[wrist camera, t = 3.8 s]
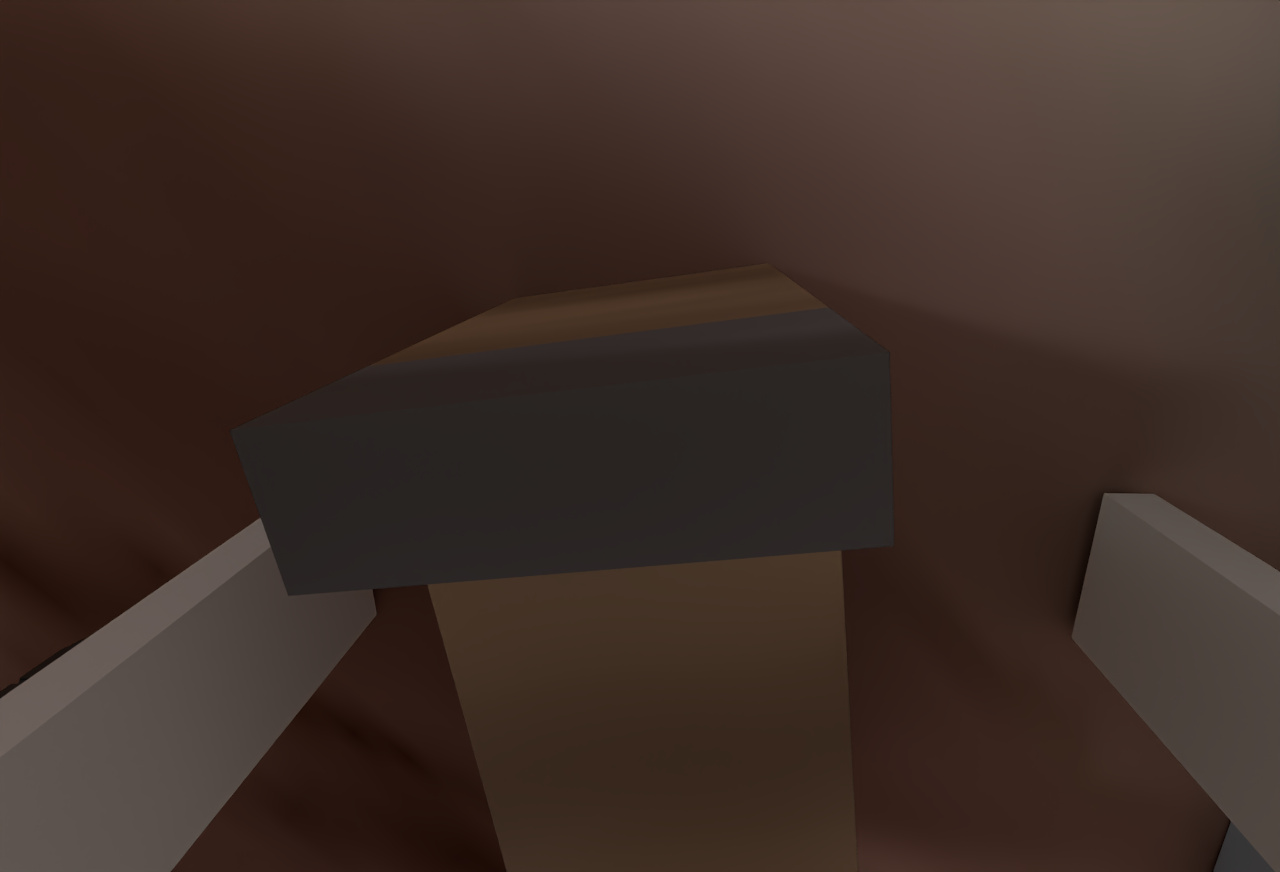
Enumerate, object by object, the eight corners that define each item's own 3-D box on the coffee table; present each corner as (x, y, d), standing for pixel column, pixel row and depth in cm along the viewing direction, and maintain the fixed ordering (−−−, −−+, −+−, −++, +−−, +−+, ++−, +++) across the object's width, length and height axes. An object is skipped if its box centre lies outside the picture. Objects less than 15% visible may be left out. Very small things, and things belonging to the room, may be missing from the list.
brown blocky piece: (808, 773, 13) (996, 1746, 5) (612, 782, 14) (475, 1673, 5) (767, 262, 10) (1097, 504, 2) (515, 297, 11) (-169, 615, 2)
